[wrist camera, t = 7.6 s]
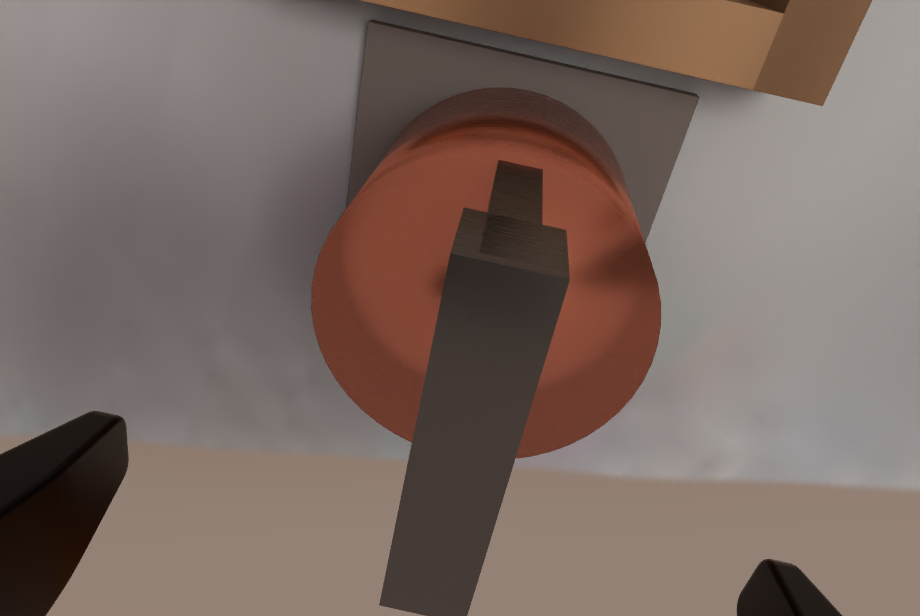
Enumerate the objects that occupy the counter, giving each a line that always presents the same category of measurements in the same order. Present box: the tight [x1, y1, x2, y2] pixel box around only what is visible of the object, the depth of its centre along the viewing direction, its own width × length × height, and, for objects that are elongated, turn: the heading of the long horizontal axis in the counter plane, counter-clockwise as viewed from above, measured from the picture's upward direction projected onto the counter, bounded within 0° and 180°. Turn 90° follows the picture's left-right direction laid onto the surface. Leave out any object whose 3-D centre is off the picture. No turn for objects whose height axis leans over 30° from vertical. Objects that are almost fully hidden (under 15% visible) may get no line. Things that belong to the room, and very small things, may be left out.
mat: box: [346, 20, 699, 242], centre depth 19 cm, size 8×8×1 cm
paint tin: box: [311, 87, 661, 616], centre depth 14 cm, size 7×7×10 cm
